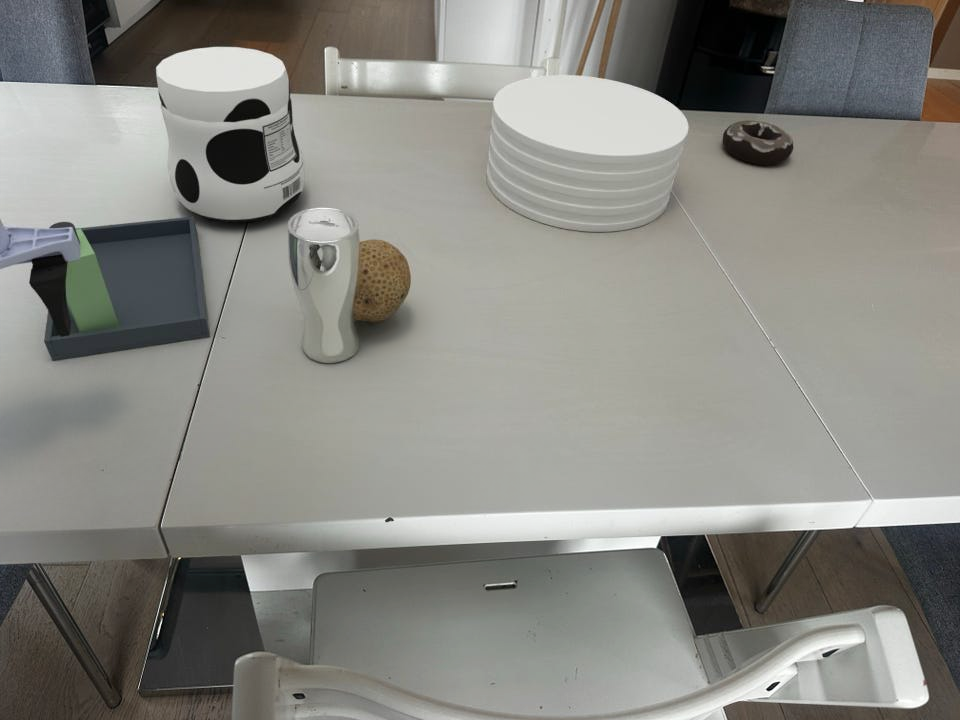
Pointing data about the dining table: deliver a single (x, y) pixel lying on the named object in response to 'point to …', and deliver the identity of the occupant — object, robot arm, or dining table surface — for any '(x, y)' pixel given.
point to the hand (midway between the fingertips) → (16, 337)
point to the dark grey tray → (142, 288)
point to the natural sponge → (381, 281)
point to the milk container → (230, 133)
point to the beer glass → (326, 280)
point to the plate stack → (584, 152)
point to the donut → (757, 142)
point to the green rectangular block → (87, 289)
